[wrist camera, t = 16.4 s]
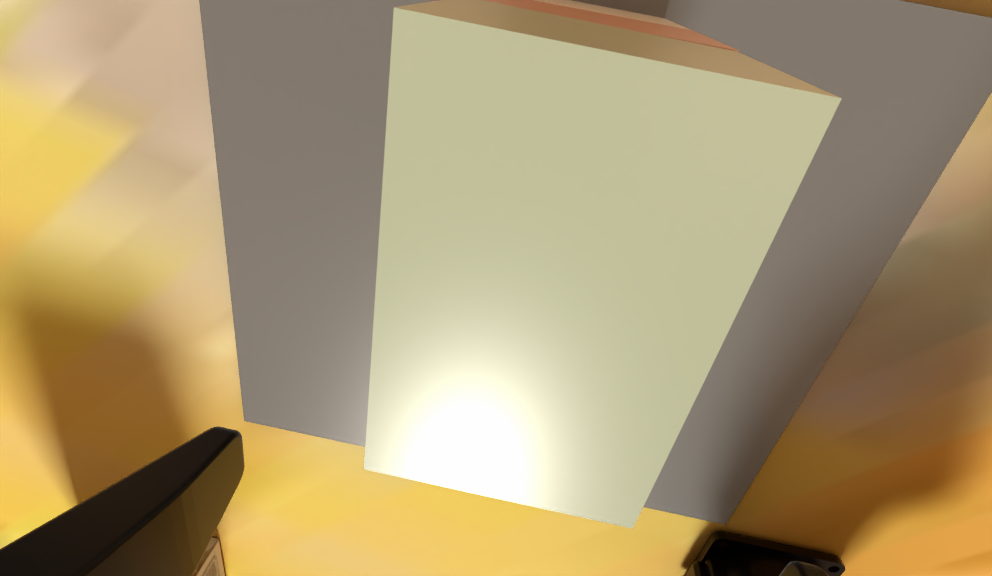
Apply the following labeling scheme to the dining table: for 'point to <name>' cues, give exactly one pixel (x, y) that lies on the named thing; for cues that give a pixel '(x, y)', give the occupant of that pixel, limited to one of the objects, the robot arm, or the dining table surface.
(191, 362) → the dining table surface
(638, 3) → the baseplate
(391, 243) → the sage brick
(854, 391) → the dining table surface
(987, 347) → the dining table surface
